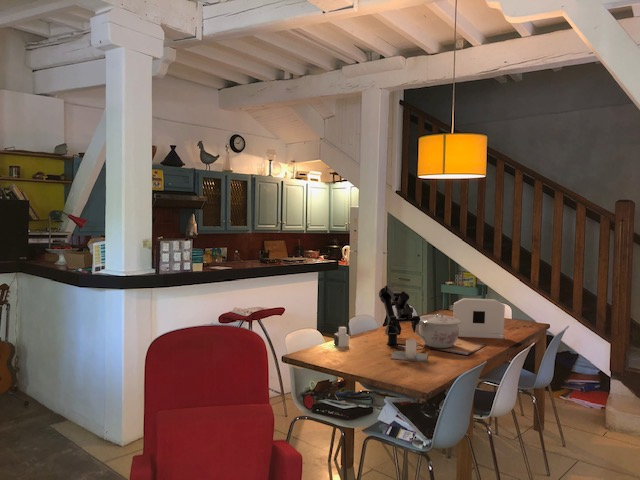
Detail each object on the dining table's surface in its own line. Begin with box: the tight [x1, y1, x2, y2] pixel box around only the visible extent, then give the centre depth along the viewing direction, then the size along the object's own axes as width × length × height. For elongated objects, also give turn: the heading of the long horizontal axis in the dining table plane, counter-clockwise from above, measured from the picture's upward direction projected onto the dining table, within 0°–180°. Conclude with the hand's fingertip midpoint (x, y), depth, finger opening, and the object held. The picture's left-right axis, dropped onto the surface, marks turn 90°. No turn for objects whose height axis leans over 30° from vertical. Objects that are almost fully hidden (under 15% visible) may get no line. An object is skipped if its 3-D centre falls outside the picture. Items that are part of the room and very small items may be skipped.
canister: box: [405, 338, 418, 359], centre depth 300 cm, size 6×6×10 cm
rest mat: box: [390, 350, 429, 363], centre depth 304 cm, size 16×20×1 cm
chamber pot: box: [415, 312, 462, 349], centre depth 331 cm, size 28×28×21 cm
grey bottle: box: [333, 325, 350, 348], centre depth 326 cm, size 7×7×12 cm
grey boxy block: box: [452, 297, 506, 339], centre depth 367 cm, size 33×24×26 cm
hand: (407, 332), depth 306 cm, fingers open, 9 cm apart
